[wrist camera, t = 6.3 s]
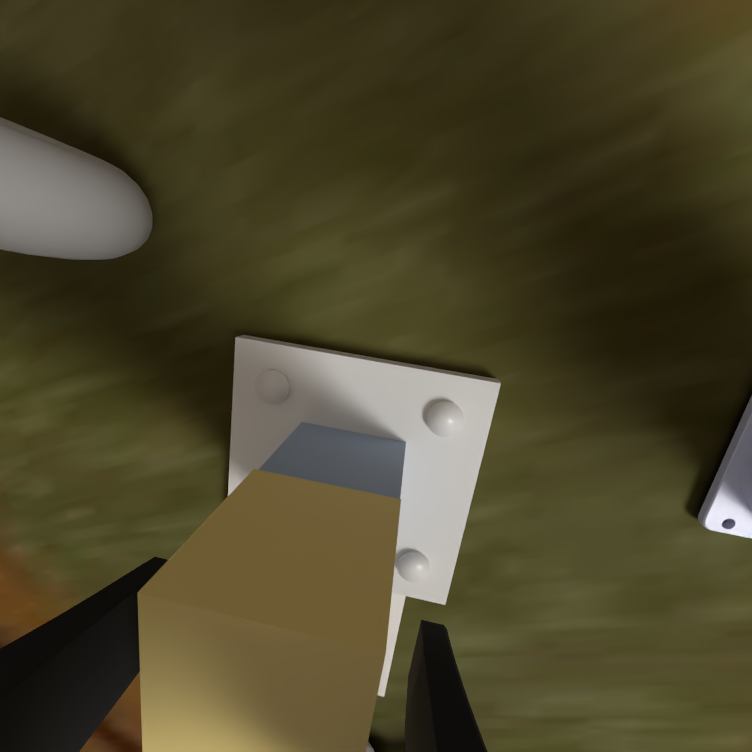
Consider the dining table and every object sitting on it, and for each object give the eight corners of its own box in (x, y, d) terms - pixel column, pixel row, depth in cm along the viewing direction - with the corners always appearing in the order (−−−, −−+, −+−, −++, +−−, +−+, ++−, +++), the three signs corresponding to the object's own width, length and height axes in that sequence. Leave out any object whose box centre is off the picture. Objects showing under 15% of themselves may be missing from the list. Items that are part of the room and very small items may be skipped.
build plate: (497, 378, 16) (502, 385, 15) (444, 592, 19) (445, 610, 18) (244, 334, 17) (232, 337, 16) (232, 543, 20) (221, 558, 19)
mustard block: (401, 499, 11) (385, 653, 7) (378, 620, 13) (351, 823, 8) (253, 468, 12) (137, 592, 7) (246, 588, 13) (143, 763, 8)
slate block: (406, 442, 16) (399, 506, 11) (389, 533, 18) (376, 625, 13) (301, 421, 17) (253, 475, 12) (292, 512, 18) (244, 594, 13)
